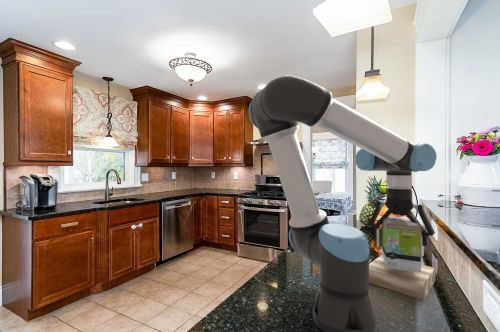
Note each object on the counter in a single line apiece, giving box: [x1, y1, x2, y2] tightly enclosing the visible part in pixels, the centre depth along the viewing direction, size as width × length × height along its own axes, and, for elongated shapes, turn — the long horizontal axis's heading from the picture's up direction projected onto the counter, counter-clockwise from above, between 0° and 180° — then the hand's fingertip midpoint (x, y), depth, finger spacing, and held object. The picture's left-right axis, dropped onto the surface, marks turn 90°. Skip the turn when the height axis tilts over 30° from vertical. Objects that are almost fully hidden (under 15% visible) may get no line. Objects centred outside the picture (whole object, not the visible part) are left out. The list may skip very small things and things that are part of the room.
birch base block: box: [369, 254, 436, 301], centre depth 84 cm, size 17×17×5 cm
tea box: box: [380, 214, 422, 272], centre depth 84 cm, size 15×10×15 cm
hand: (399, 250), depth 84 cm, fingers closed on tea box, 12 cm apart
